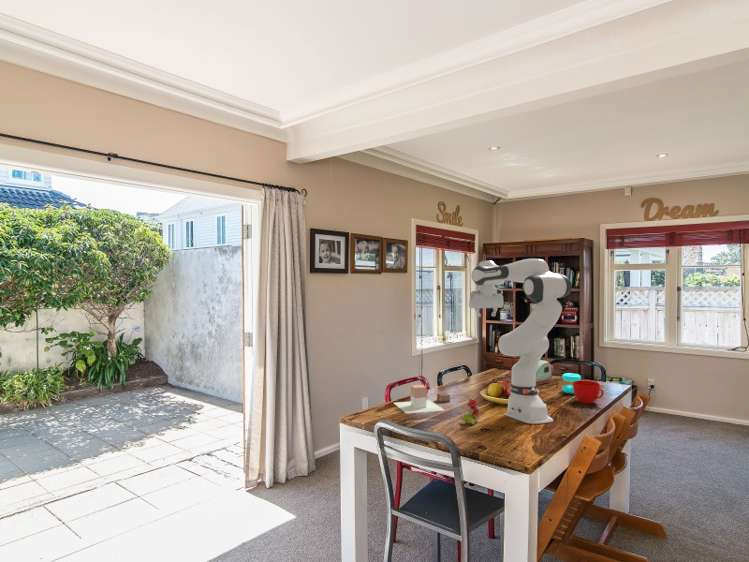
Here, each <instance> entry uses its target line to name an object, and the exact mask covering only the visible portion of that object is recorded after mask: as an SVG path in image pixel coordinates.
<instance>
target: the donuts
mask: <svg viewBox="0 0 749 562" xmlns="http://www.w3.org/2000/svg"><path fill="white" fill-rule="evenodd" d="M561 378H562V379H563V381H565V382H569V383H570V382H572V383H573V382H574V381H582V380H581V379H582V376H581V375H580V374H578V373H573V372H572V373H570V372H568V373H564V374H562V376H561ZM561 390H562V392H563V393H567V394H572V395H573V394H574V390H573V384H565V385H563V386H562V387H561ZM574 395H575V394H574Z"/></svg>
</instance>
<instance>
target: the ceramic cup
mask: <svg viewBox="0 0 749 562" xmlns="http://www.w3.org/2000/svg"><path fill="white" fill-rule="evenodd" d="M572 385H573V390H574V396H575V398H576V399H577V400H578V401H579V403H581V404H587V405H588V404H590V405H591V404H592V405H593V403H594V402H595V401H596V400H598V399H601V398H602V397H603V396H604V390H603V389H602V388H601V384H600V383H599V382H596V381H592V380H580V381H574V382H572Z"/></svg>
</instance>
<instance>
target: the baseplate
mask: <svg viewBox="0 0 749 562" xmlns="http://www.w3.org/2000/svg"><path fill="white" fill-rule="evenodd" d="M393 404H394V405H395V406H396V407H398V408H399V409H400V410H401V411H402V412H404V413H405V414H406V415H407V414H415V413H429V412H443V411H446V409H444V408H443V407H441V406H440V405H438V404H436V403H435V402H433V401H432V400H430V399H426V408H414V407H412V406H411V400H409V401H399V402H398V401H397V402H393Z"/></svg>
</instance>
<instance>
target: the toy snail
mask: <svg viewBox="0 0 749 562" xmlns="http://www.w3.org/2000/svg"><path fill="white" fill-rule="evenodd" d="M553 370H554V363H552V364H551V363H550V362H549V361H548V360H547V361H546V360H542V359H540V360H539V362H538V365H537V369H536V386H539V385H543V384H547V383H550V382H551V381H552V377H553Z"/></svg>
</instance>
